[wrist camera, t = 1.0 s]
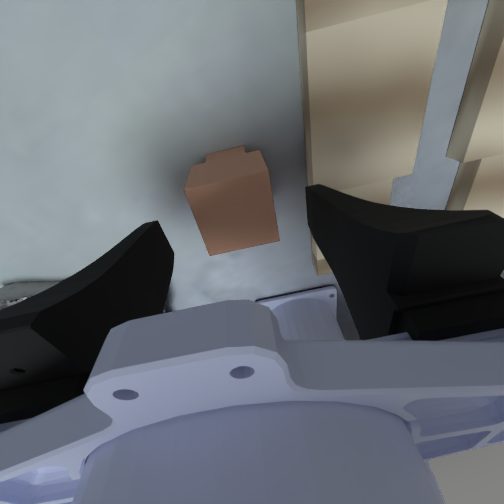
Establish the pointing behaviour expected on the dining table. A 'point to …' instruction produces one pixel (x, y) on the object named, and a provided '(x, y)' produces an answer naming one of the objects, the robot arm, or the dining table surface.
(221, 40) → the dining table surface
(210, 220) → the slider block
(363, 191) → the keyhole board
